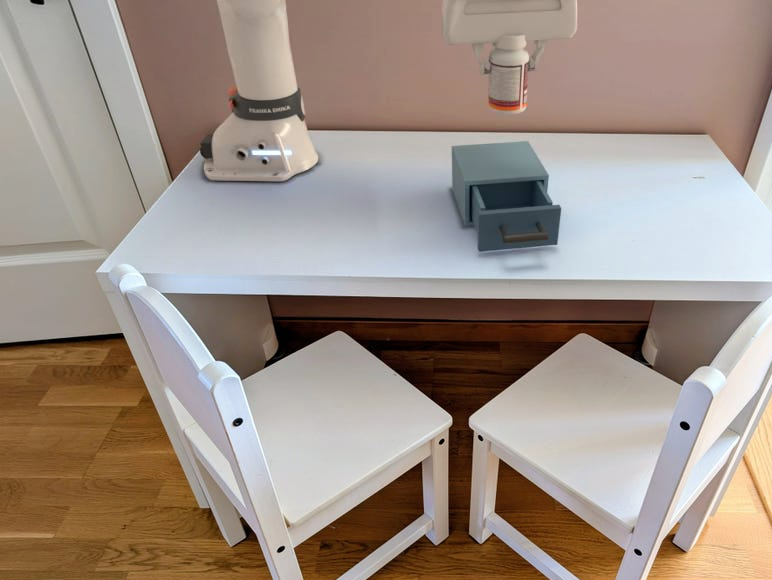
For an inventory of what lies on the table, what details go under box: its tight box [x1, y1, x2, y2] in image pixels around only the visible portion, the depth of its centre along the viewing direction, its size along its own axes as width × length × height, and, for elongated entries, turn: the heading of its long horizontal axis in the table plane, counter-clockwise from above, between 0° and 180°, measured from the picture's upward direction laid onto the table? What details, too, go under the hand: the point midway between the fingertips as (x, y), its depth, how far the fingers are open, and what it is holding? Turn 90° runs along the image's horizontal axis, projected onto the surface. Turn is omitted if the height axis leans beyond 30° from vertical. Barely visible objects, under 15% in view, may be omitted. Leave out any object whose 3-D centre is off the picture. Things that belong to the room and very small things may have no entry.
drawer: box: [469, 180, 562, 253], centre depth 102 cm, size 18×13×7 cm
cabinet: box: [451, 140, 550, 228], centre depth 111 cm, size 15×15×9 cm
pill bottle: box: [487, 35, 530, 116], centre depth 95 cm, size 6×6×11 cm
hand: (508, 71), depth 95 cm, fingers closed on pill bottle, 6 cm apart
